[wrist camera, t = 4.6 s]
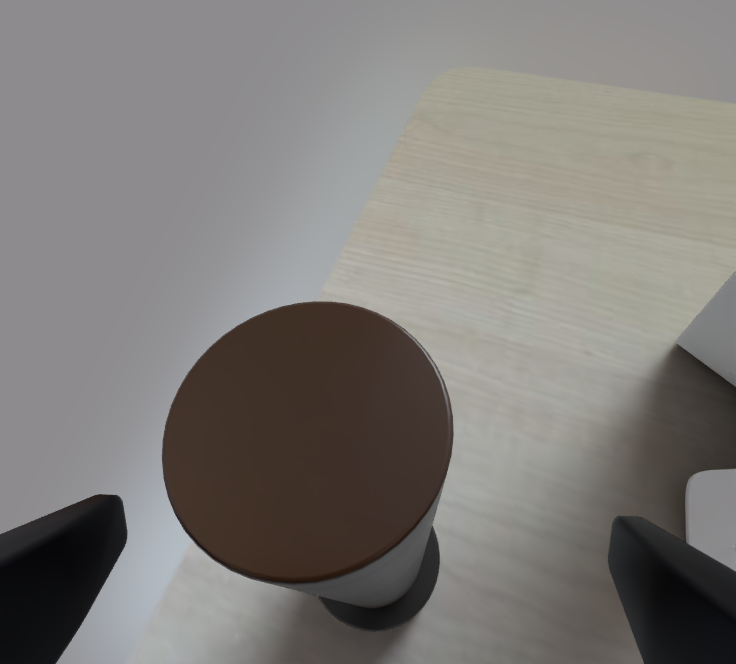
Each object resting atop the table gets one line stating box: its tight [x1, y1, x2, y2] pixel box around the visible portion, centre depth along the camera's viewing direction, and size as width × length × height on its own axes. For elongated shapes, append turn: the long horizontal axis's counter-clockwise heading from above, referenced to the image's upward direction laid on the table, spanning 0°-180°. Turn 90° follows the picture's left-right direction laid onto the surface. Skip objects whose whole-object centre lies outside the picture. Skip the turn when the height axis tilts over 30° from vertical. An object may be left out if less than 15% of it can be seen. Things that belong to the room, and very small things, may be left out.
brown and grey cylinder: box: [162, 302, 453, 632], centre depth 10 cm, size 4×4×13 cm
